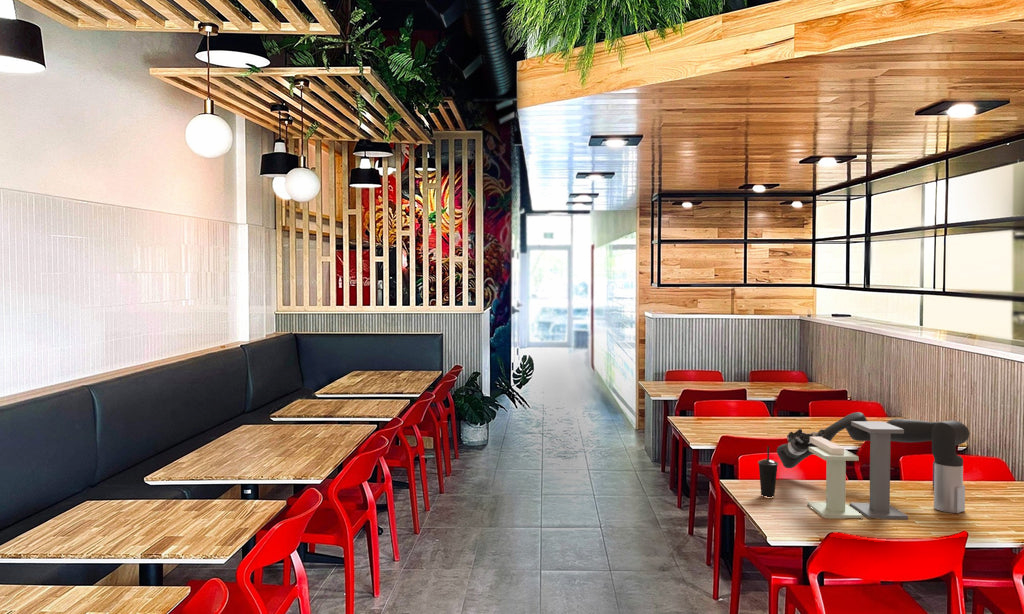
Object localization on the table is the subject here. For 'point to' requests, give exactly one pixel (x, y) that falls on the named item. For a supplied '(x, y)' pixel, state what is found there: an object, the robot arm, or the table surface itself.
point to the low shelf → (835, 485)
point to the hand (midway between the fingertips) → (812, 431)
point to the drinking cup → (767, 475)
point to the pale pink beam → (826, 445)
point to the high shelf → (879, 471)
